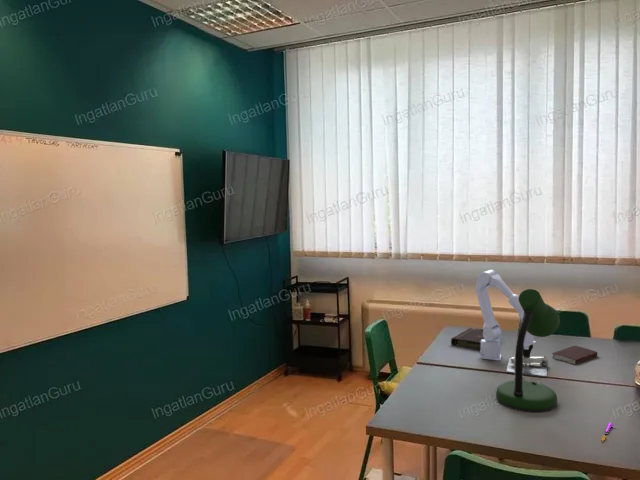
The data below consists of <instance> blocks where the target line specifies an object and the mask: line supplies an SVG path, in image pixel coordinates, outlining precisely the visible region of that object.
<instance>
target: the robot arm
mask: <svg viewBox="0 0 640 480" xmlns="http://www.w3.org/2000/svg"><path fill="white" fill-rule="evenodd" d="M489 287H496V288H497V289H498V290H499V291H500V292H501V293H502V294H503V295H504V296H505V297H506V298H508V303H509V305H510V306H511V307H513V308H514V310H515V311H516V313H518V317H519V318H520V322H521V321H522V319H523V315H524V310H523V308H522V307H521V305H520V303H519V295H520V294H519V295H518V294H515V293H514V292H513V290H511V288H509V286H508V285H507V284H506V283H505V281H504V280H503V279H502V277H501V276H500V274H498V273H497V271H496V270H494V269H488V270H486V271H481V272H480V273H478V275H477V276H476V283H475V293H476V297H477V300H478V305H479V307H480V312H481V316H482V319H483V322H484V323H483V326H482V329H483V337H484V339H481V350H479V351H480V352H479V353H480V360H481V359H482V360H490V361H501V359H502V354H501V337H502V335H503V329H502V327H500V324H499V322H498V321H497V320H496V318H495V315H494V310H493V307H492V304H491V301H490V295H489V293H488V292H489V291H488V289H489ZM524 338H525V339H524V340H525V341H524V342H525V343H523V344H524V345H523V346H524V347H523V348H524V349H523V357H531V353H532V351H533V348H534V344H536V343H537V342H536V340H534V335H532V334H530V333H529V332H528V331H527V332H526V337H524Z"/></svg>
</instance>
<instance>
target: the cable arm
mask: <svg viewBox="0 0 640 480" xmlns="http://www.w3.org/2000/svg"><path fill="white" fill-rule="evenodd" d="M510 358H511V363H512V364H515V356H512V357H510ZM524 363H547V364H548V363H549V357H548V356H546V355H542V356H530V357H524V356H523V364H524Z"/></svg>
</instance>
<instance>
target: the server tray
mask: <svg viewBox="0 0 640 480" xmlns="http://www.w3.org/2000/svg"><path fill="white" fill-rule="evenodd" d="M547 365H548V363H524V364H523V376H528V377H539V378H547V376H548V375H547V374H548V370H547V369H548V368H547ZM514 370H515V364H512V363H511V357H509V358H508V363H507V367H506V374H513V375H514V374H515V373H514V372H515V371H514Z"/></svg>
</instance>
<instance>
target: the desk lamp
mask: <svg viewBox="0 0 640 480" xmlns="http://www.w3.org/2000/svg"><path fill="white" fill-rule="evenodd" d="M519 303H520V305H521V307H522V308H523V310H524V315H523V319H522V321H521V320H520V325H519V327H518V331H517V334H516V342H515V346H514V347H515V348H514V357H515V370H514V371H515V372H514V373H515V374H513V375H514V380H511V381H507V382H506V381H505V382H503V383H501V384H500V385H498V387H497V389H496V391H495V394H496V395H495V399H496V401H497V402H498V403H499V404H501V405H503V406H505V407H507V408H510V409H513V410H516V411H520V412H526V413H536V414H537V413H546V412H550V411H552V410H555V408H556V407H557V406H558V397H557V394H556V392H555V391H554V390H553V388H550V387H548V386H547V385H544V384H541V383H538V382H536V381H528V380H524V378H523V377H524V375H523V357H524V356H523V349H524V348H523V347H524V346H523V345H524V344H523V343H525V342H524V341H525V340H524V339H525V338H524V337H526V332H527V331H528V332H529V333H530V334H532V335H533V337H540V338H546V337H549V336H551V335H553V334H555V332H557V330H558V329H559V327H560V323H561V319H560V315H559V314H558V312H557V310H556V309H555V308H554V307H552V306H551V305H549V304H548V303H545V301H544V299H543V297H542V295H541V293H540V292H539V291H538V290H537V289H533V288H526V289H524V290H523V291H521V292H520V293H519Z"/></svg>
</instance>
